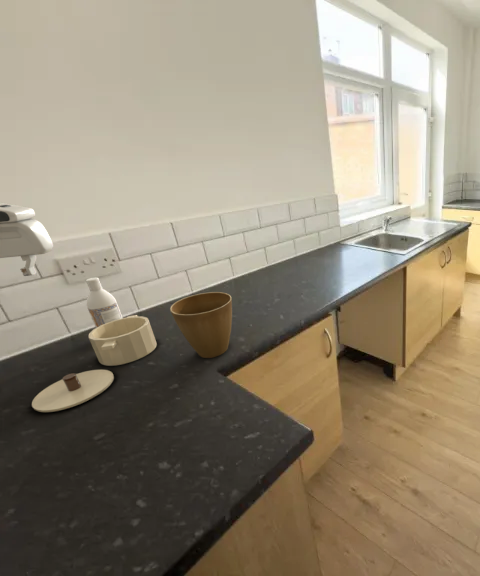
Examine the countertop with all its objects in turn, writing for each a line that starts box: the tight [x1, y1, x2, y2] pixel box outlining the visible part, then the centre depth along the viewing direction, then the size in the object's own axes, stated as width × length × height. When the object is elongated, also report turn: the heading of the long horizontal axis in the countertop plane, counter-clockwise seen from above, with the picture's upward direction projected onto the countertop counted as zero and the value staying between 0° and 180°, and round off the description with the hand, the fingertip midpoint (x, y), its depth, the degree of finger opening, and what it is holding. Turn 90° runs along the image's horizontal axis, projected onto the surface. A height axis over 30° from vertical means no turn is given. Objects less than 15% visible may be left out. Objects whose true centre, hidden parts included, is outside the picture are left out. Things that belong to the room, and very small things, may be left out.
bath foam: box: [85, 276, 124, 328], centre depth 99 cm, size 7×7×20 cm
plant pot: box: [169, 291, 233, 359], centre depth 90 cm, size 15×15×16 cm
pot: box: [88, 314, 158, 367], centre depth 92 cm, size 14×19×8 cm
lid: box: [31, 369, 115, 413], centre depth 77 cm, size 15×15×5 cm
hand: (3, 277), depth 70 cm, fingers open, 8 cm apart
